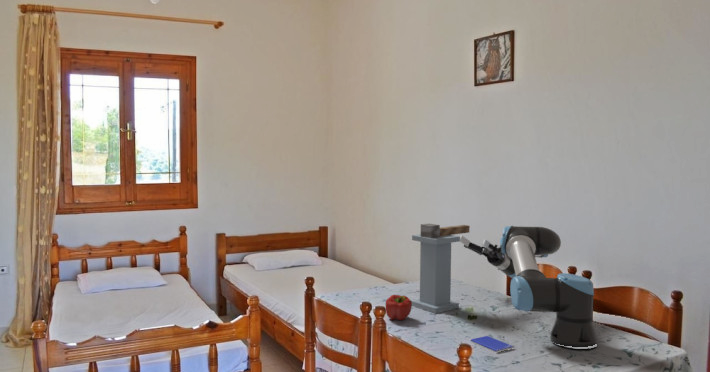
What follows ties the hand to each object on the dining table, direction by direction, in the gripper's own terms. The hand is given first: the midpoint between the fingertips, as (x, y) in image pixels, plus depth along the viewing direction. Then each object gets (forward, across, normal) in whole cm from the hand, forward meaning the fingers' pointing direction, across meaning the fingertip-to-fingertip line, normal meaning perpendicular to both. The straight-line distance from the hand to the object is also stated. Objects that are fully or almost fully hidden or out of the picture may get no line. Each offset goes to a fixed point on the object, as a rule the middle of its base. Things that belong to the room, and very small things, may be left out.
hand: (471, 239), depth 253 cm
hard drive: (+22, -45, -44) cm, 66 cm away
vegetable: (+27, -4, -46) cm, 53 cm away
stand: (+6, 0, -34) cm, 34 cm away
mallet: (+15, 0, -4) cm, 16 cm away
